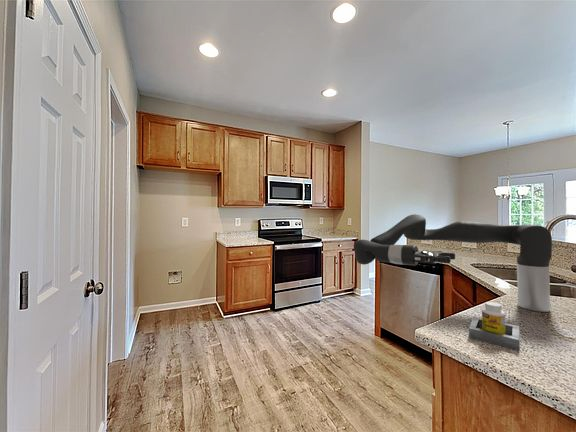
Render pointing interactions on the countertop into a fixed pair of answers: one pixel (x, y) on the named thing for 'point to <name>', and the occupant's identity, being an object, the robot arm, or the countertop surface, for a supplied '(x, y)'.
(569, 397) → the countertop surface
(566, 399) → the countertop surface
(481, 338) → the square grey bottle holder
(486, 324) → the supplement bottle
